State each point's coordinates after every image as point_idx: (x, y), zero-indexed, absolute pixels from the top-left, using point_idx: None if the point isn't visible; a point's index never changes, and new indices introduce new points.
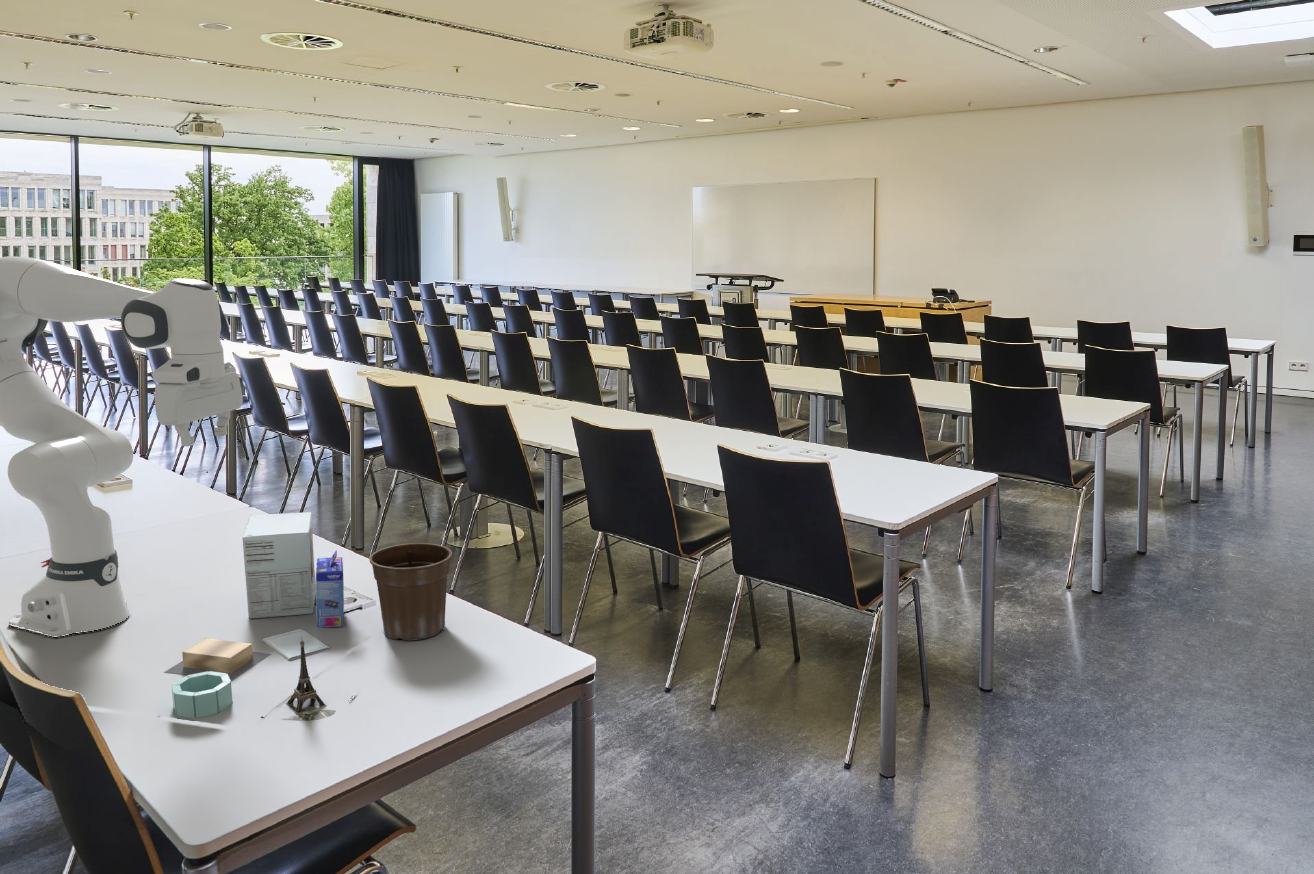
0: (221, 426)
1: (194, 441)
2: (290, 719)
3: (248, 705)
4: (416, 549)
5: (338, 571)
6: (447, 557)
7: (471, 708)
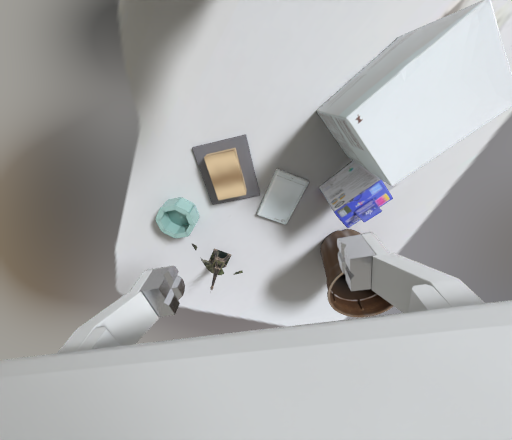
0: (372, 275)
1: (180, 297)
2: (203, 262)
3: (200, 233)
4: None
5: (346, 226)
6: (367, 315)
7: (260, 316)
